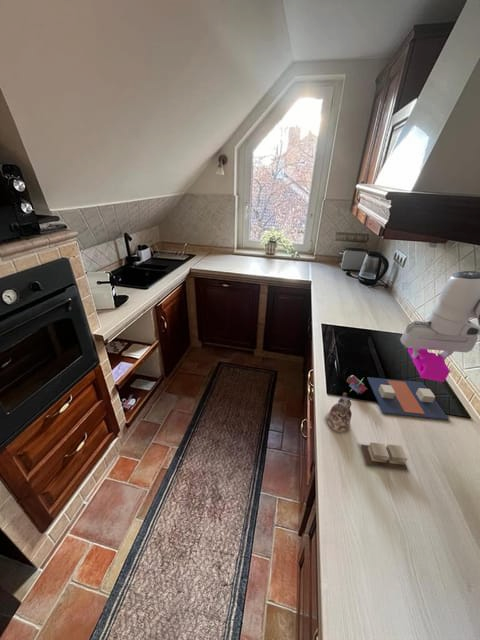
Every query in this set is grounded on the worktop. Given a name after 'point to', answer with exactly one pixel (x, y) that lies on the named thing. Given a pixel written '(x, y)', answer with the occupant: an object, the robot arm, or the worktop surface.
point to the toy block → (430, 365)
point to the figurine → (340, 414)
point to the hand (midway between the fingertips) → (427, 358)
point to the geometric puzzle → (356, 384)
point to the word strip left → (385, 456)
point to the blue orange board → (406, 398)
